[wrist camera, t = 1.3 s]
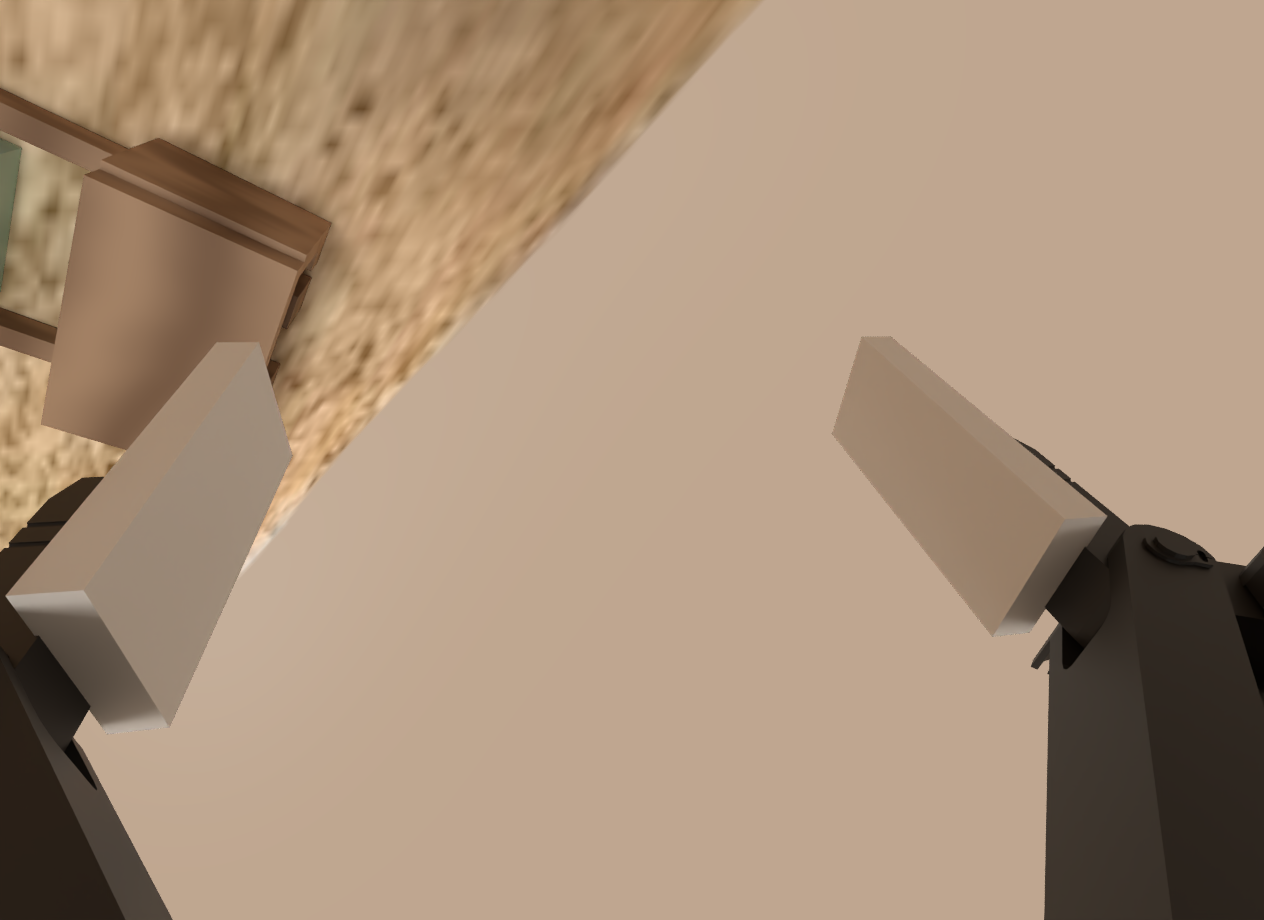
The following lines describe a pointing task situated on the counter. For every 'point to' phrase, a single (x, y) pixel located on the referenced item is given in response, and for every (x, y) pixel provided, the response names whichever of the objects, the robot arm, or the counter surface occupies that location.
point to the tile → (7, 193)
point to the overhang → (155, 275)
